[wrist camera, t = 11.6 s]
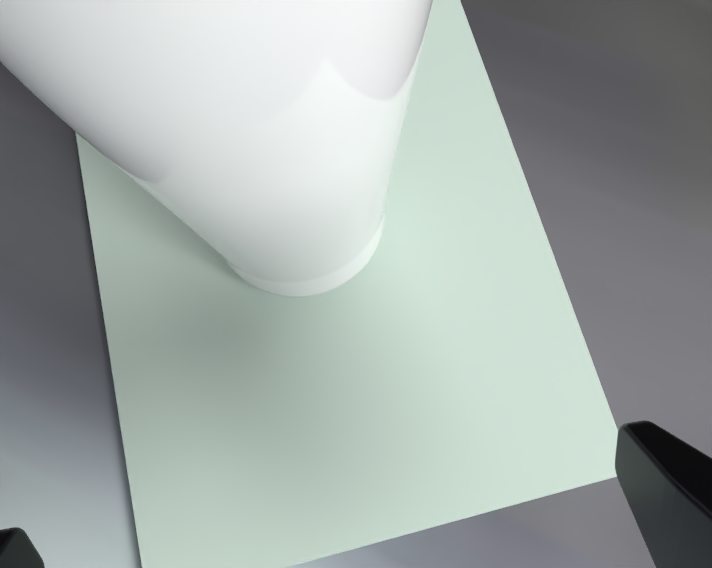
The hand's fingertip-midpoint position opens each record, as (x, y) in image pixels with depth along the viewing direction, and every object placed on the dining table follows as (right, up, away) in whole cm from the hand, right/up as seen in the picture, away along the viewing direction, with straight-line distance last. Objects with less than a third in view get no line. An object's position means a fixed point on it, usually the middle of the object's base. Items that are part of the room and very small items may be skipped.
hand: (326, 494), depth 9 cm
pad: (-1, +5, +11) cm, 12 cm away
